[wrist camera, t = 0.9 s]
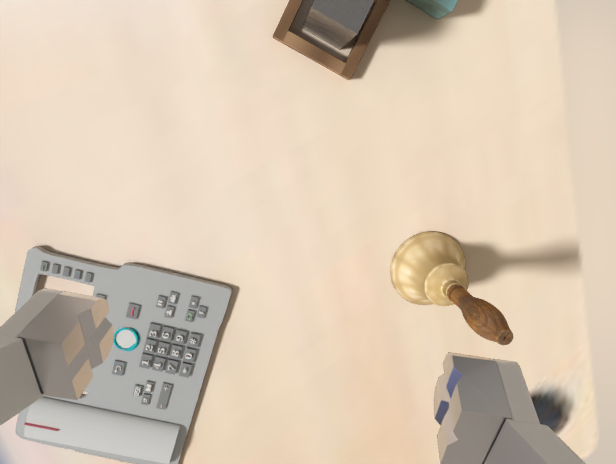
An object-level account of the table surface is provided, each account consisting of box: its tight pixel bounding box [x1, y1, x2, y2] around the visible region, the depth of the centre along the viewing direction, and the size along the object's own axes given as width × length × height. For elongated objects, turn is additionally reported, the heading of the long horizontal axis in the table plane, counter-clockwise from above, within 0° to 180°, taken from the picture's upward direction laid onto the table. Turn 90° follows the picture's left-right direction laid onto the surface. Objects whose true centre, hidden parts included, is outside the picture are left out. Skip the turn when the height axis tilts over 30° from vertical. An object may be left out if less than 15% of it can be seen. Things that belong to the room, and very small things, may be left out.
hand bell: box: [391, 232, 513, 345], centre depth 42 cm, size 8×8×16 cm
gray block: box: [302, 0, 374, 50], centre depth 38 cm, size 4×4×8 cm
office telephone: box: [15, 246, 232, 464], centre depth 48 cm, size 23×3×20 cm
